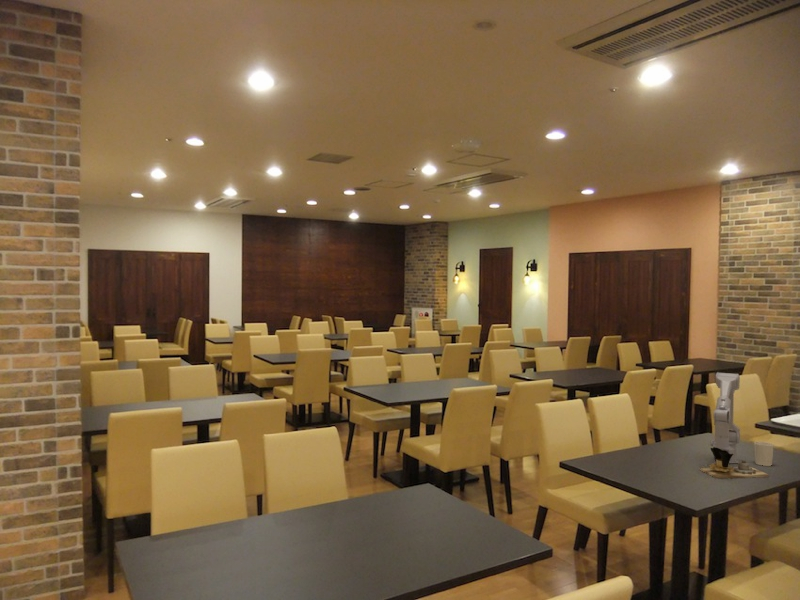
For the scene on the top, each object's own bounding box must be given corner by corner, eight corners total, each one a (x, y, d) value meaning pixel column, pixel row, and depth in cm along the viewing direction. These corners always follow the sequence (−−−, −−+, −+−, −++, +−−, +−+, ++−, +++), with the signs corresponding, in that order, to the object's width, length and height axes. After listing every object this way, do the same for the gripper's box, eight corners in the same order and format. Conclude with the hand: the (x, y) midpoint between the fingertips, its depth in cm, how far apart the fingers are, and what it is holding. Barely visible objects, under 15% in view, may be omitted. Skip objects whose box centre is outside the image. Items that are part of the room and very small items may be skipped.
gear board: (700, 470, 270) (700, 457, 270) (751, 469, 272) (751, 456, 272) (716, 478, 258) (716, 465, 258) (769, 477, 260) (769, 463, 260)
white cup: (770, 462, 282) (770, 442, 282) (775, 467, 275) (775, 446, 275) (752, 461, 285) (752, 440, 285) (756, 465, 278) (756, 444, 277)
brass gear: (724, 465, 270) (724, 456, 270) (738, 471, 260) (738, 462, 260) (705, 465, 269) (705, 457, 269) (718, 472, 259) (718, 463, 259)
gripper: (703, 432, 271) (703, 461, 271) (723, 439, 257) (723, 470, 257) (718, 431, 272) (718, 460, 272) (738, 439, 257) (738, 470, 258)
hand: (721, 465), depth 265 cm, fingers closed on brass gear, 4 cm apart
